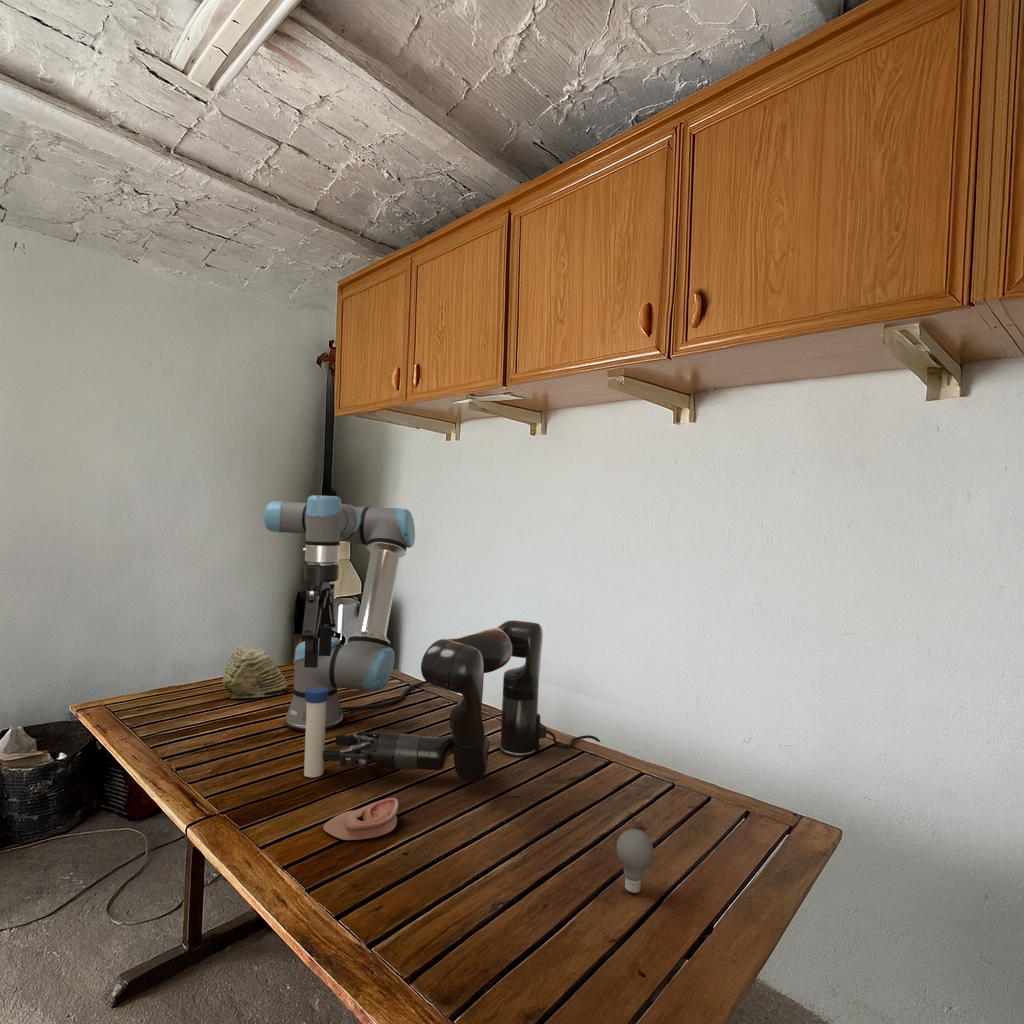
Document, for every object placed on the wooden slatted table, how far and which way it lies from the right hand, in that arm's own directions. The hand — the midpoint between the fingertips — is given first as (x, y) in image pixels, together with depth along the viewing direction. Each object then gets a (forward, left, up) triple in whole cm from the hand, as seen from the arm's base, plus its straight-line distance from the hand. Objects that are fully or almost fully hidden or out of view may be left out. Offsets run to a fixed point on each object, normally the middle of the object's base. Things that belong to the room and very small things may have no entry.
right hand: (329, 746), depth 144 cm
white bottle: (+3, -2, -7) cm, 7 cm away
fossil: (+16, -64, -7) cm, 67 cm away
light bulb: (-43, +59, -7) cm, 73 cm away
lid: (+3, -2, +12) cm, 13 cm away
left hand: (+3, -2, +19) cm, 20 cm away
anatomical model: (-4, +25, -7) cm, 26 cm away
